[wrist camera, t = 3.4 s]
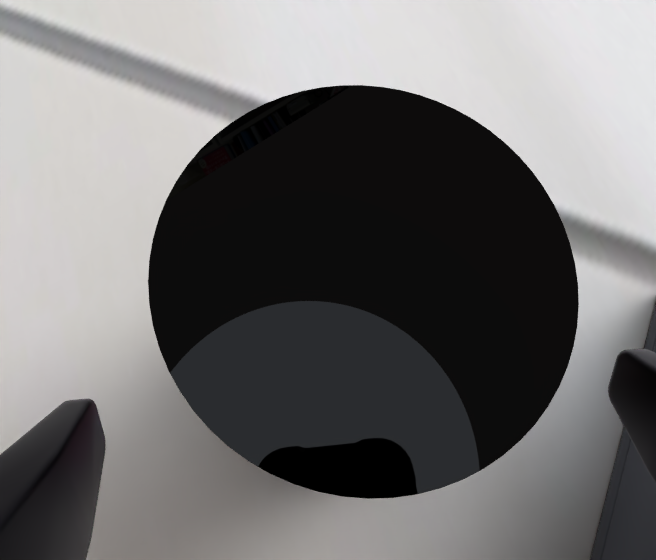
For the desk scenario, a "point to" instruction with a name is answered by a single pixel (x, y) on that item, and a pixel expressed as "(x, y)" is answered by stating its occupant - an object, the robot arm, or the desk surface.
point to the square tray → (629, 501)
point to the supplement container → (363, 291)
